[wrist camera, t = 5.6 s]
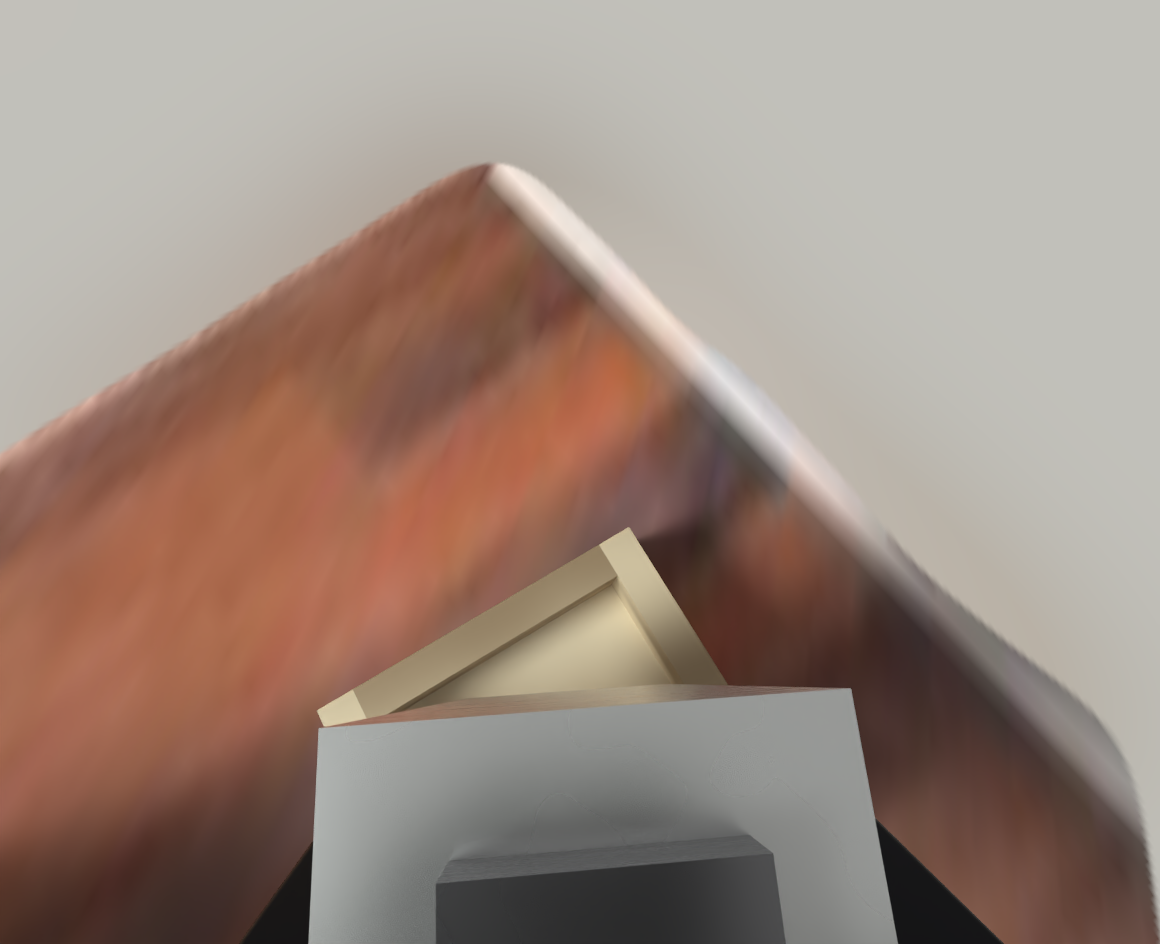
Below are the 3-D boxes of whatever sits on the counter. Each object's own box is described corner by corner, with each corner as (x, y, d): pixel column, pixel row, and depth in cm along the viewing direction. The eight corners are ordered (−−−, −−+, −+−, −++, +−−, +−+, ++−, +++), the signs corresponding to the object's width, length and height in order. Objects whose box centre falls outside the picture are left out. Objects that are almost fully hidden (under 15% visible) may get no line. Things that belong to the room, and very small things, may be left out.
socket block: (686, 907, 14) (1049, 1520, 4) (471, 928, 14) (237, 1646, 3) (663, 683, 15) (884, 688, 5) (468, 698, 15) (291, 734, 5)
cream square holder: (789, 823, 19) (831, 849, 16) (504, 1029, 17) (495, 1099, 15) (618, 546, 21) (629, 526, 19) (350, 705, 20) (316, 710, 17)
